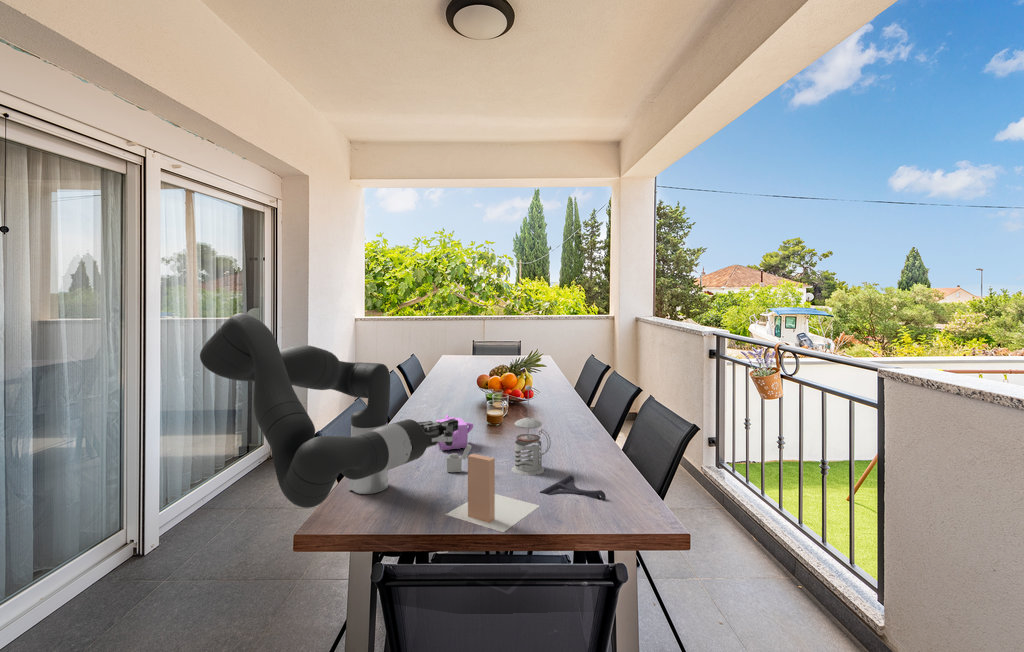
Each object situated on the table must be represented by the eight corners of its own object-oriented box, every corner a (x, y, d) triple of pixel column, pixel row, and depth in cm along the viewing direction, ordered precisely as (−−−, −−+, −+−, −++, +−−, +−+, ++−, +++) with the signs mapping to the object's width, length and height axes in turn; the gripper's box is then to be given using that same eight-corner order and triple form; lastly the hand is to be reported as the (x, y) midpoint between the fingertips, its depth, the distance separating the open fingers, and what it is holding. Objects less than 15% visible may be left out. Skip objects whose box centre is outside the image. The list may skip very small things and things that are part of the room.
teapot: (428, 441, 174) (428, 412, 174) (466, 437, 179) (466, 409, 178) (437, 456, 157) (437, 425, 157) (479, 452, 161) (479, 421, 161)
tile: (467, 516, 112) (467, 455, 112) (473, 512, 114) (473, 453, 113) (489, 522, 109) (489, 460, 108) (495, 519, 111) (495, 458, 110)
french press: (520, 462, 152) (520, 381, 150) (555, 467, 147) (556, 384, 145) (505, 472, 143) (505, 386, 141) (542, 478, 138) (543, 390, 136)
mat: (445, 516, 113) (445, 514, 113) (485, 493, 127) (485, 491, 127) (503, 535, 105) (503, 532, 105) (540, 508, 118) (540, 505, 118)
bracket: (590, 512, 118) (590, 501, 117) (539, 496, 127) (539, 486, 127) (617, 494, 129) (617, 483, 129) (568, 481, 138) (568, 471, 138)
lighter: (446, 472, 142) (446, 445, 142) (447, 470, 144) (447, 443, 144) (471, 472, 142) (471, 445, 142) (471, 470, 144) (471, 443, 144)
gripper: (369, 459, 92) (431, 437, 107) (421, 472, 85) (481, 447, 99) (368, 419, 92) (431, 402, 106) (421, 429, 84) (481, 410, 99)
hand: (455, 424), depth 103 cm, fingers closed
